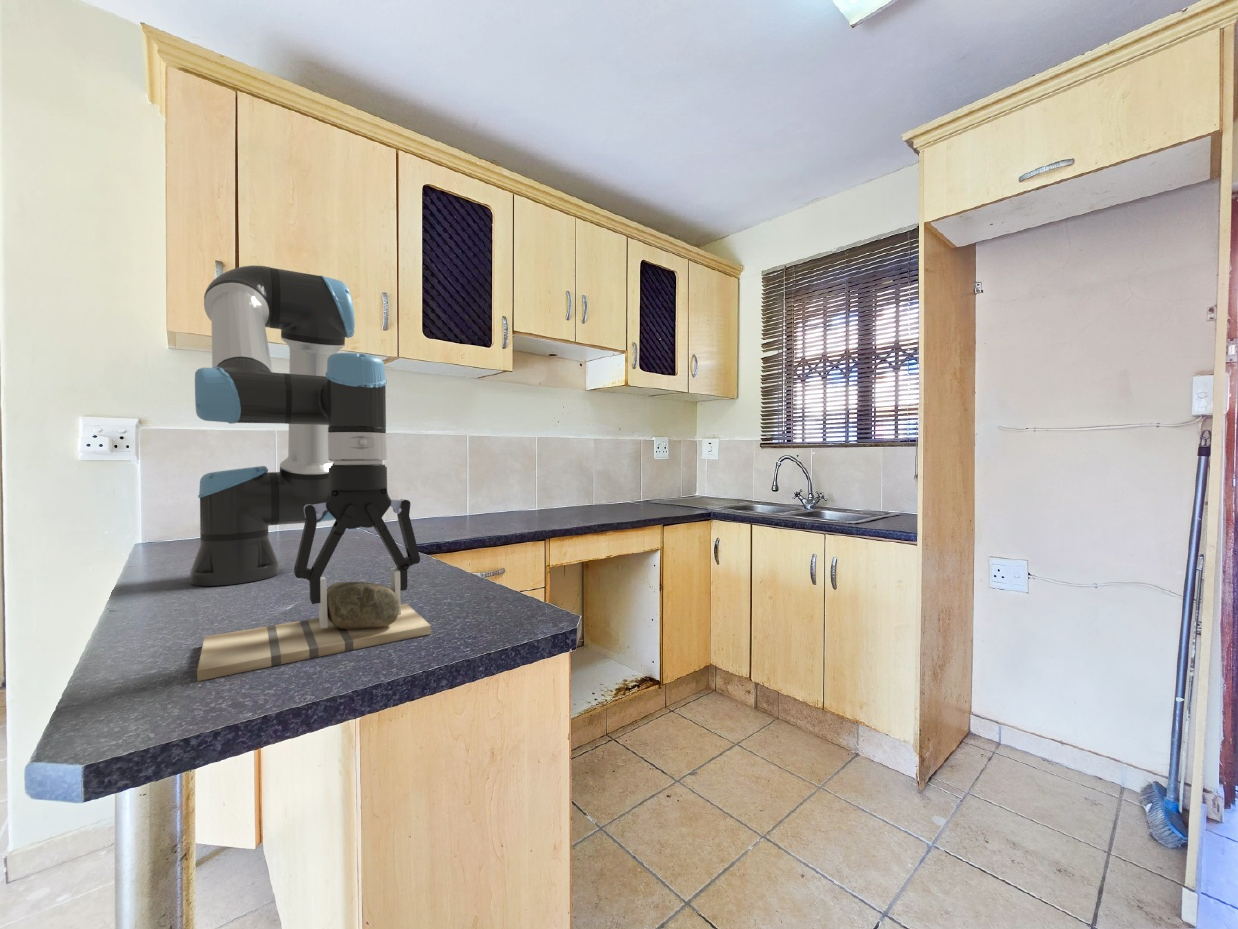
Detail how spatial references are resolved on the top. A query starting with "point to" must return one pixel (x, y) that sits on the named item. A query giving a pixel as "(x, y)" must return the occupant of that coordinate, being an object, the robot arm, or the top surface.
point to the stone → (361, 605)
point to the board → (297, 643)
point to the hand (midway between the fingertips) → (361, 618)
